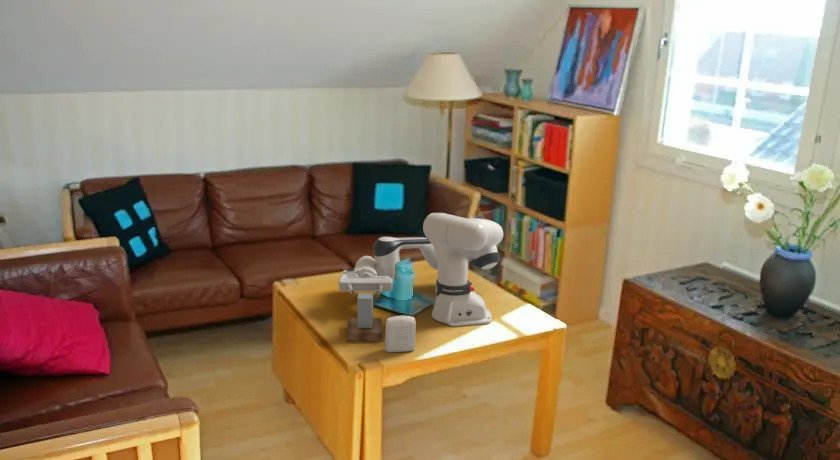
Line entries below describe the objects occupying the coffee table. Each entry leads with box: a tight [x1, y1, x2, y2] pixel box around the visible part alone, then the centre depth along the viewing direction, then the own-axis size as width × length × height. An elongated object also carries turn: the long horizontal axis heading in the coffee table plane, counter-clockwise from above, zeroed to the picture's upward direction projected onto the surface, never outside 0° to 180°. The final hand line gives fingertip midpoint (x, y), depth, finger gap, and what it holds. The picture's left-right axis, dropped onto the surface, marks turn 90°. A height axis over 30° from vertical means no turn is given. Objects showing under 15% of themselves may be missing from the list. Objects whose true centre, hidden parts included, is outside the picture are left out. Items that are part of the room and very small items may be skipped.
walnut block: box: [346, 317, 383, 343], centre depth 256 cm, size 12×12×4 cm
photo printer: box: [384, 315, 417, 353], centre depth 244 cm, size 10×4×12 cm, turn 103°
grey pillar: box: [356, 292, 374, 328], centre depth 253 cm, size 5×5×11 cm
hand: (365, 291), depth 265 cm, fingers open, 8 cm apart
